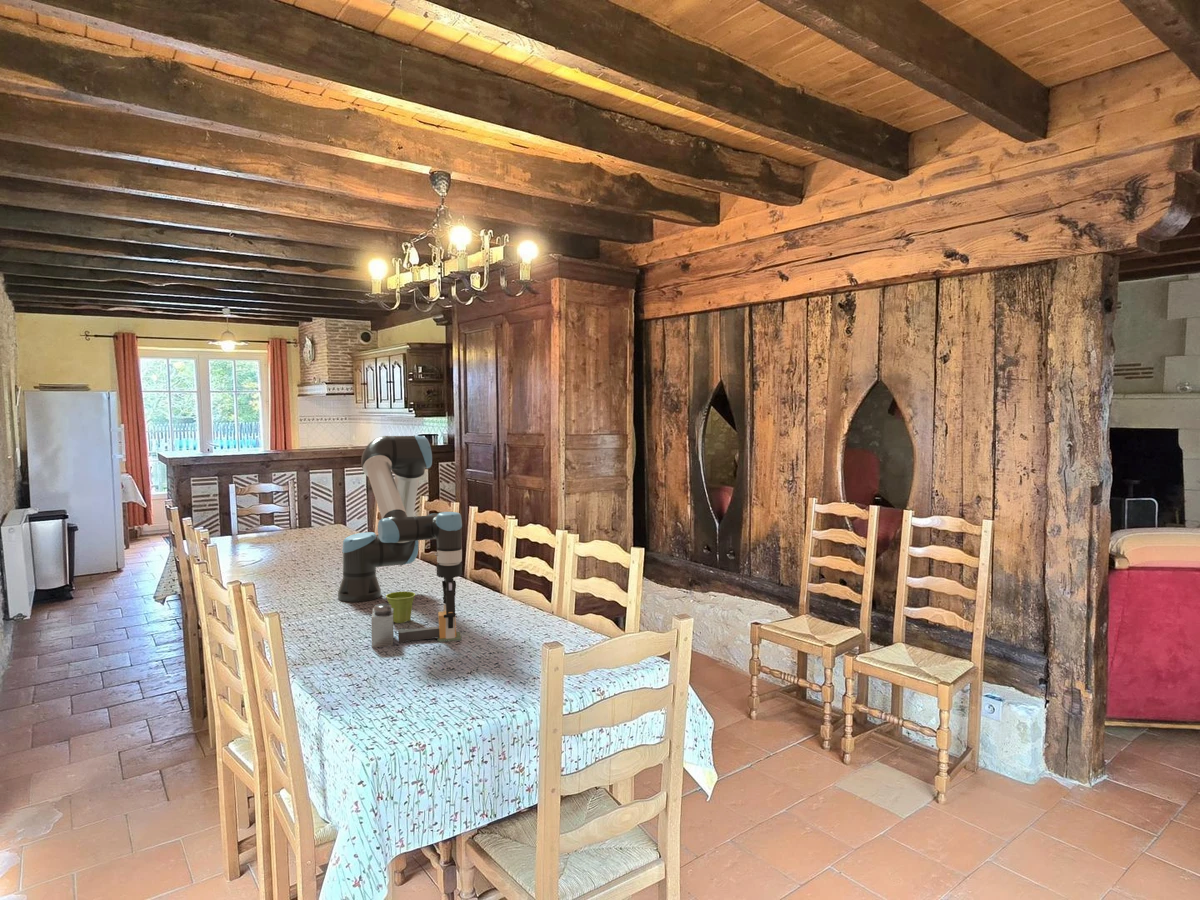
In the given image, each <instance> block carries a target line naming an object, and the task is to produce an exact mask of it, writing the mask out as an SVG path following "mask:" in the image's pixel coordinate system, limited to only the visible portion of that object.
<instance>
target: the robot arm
mask: <svg viewBox="0 0 1200 900" xmlns="http://www.w3.org/2000/svg"><path fill="white" fill-rule="evenodd" d="M432 465H433V452H432V447H431V443H430V442H429V439H428V438H427V437H426V436H424V435H414V434H413V435H383V436H379V437H376V438H374V439H373V440H372V441H370V442H369V443H368V444H367V445H366V446H365V449H364V450H363V452H362V454H361V468H362V472H363V473H364V475H365V476H366V477H368V479H369V483H370V486H371V490H372V492H373V495H374V499H375V502H376V504H377V508H378V511H379V514H380V518H381V519H379V520H378V523H377V533H378V535H377V534H376V533H375V532H372V531H369V532H366V531H365V532H358V533H354V534H351V535H349V536H347V537H345V538H344V539H343V541H342V550H341V551H342V579H341V581H340V582H341V583H340V585H339V588H338V591H337V599H338V600H340V601H343V602H348V603H349V602H352V603H355V602H367V601H372V600H376V599H378V598H380V597H382V596H381V595H382V589H381V586H380V583H379V580H378V577H377V568H381V567H383V568H384V567H391V566H404V565H409V564H412V563H413V562H414V561H416V559H417V557H418V553H419V542H420V541H426V540H427V541H428V540H429V541H430V540H436V552H434V556H435V557H436V562H437V564H436V576H437V577H438V578H441V579H443V580H442V581H441V582H442V583H441V584H442V585H441V586H442V592H443V593H442V594H443V597H442V599H443V600H442V601H443V610H442V612H443V611H446V615H444V618H446V639H450V638H455V615H456V616H457V613H456V593H457V592H456V588H457V582H456V579H454V578H458V577H460V576H461V575H462V574H463V573H462V565H463V564H462V563H461V562H462V561H463V549H462V546H463V544H462V543H463V542H462V541H463V540H462V539H463V535H462V533H463V521H462V514H461V513H459V512H458V511H457V512H456V511H441V512H438V513H430V514H428V515H419V516H418V515H417V516H414V514H415V508H416V502H417V495H418V487H419V481H420V478H421V477H423V476H424V475H425V470H426V469H427V470H428V469H430V468H431V467H432ZM449 612H453V613H449Z"/></svg>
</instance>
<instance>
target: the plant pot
mask: <svg viewBox="0 0 1200 900" xmlns="http://www.w3.org/2000/svg"><path fill="white" fill-rule="evenodd" d="M415 596H416V593H415V592H413V591H395V592H390V593H388V594H386V596H385V598H386V600H387V602H388V604H391V608H393V623H394V624H403V623H407V622H410V621H411V618H412V612H413V611H412V610H413V602H414V600H415V599H414V598H415Z"/></svg>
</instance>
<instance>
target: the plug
mask: <svg viewBox="0 0 1200 900" xmlns="http://www.w3.org/2000/svg"><path fill="white" fill-rule="evenodd" d="M449 613H453V612H449ZM437 615H438V616H437V618H438V626H431V627H430V626H429V627H420V628H411V629H410V628H409V629H406V628H398V629H397V630H398V632H397V635H398V643H399V644H402V643H403V644H404V643H406V642H411V641H412V642H413V641H419V640H421V641H422V640H429V639H437V638H440V639H442V638H446V618H444V615H446V611H443V610H442V611H438V613H437ZM456 617H457V614H456V615H455V637H456V632H457V622H456V620H457V619H456Z"/></svg>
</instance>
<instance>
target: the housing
mask: <svg viewBox="0 0 1200 900" xmlns="http://www.w3.org/2000/svg"><path fill="white" fill-rule="evenodd" d="M393 646H394V622H393V608H391V604H389V603H379V604H375V605H374V606H373V608H372V614H371V648H385V647H393Z"/></svg>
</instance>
